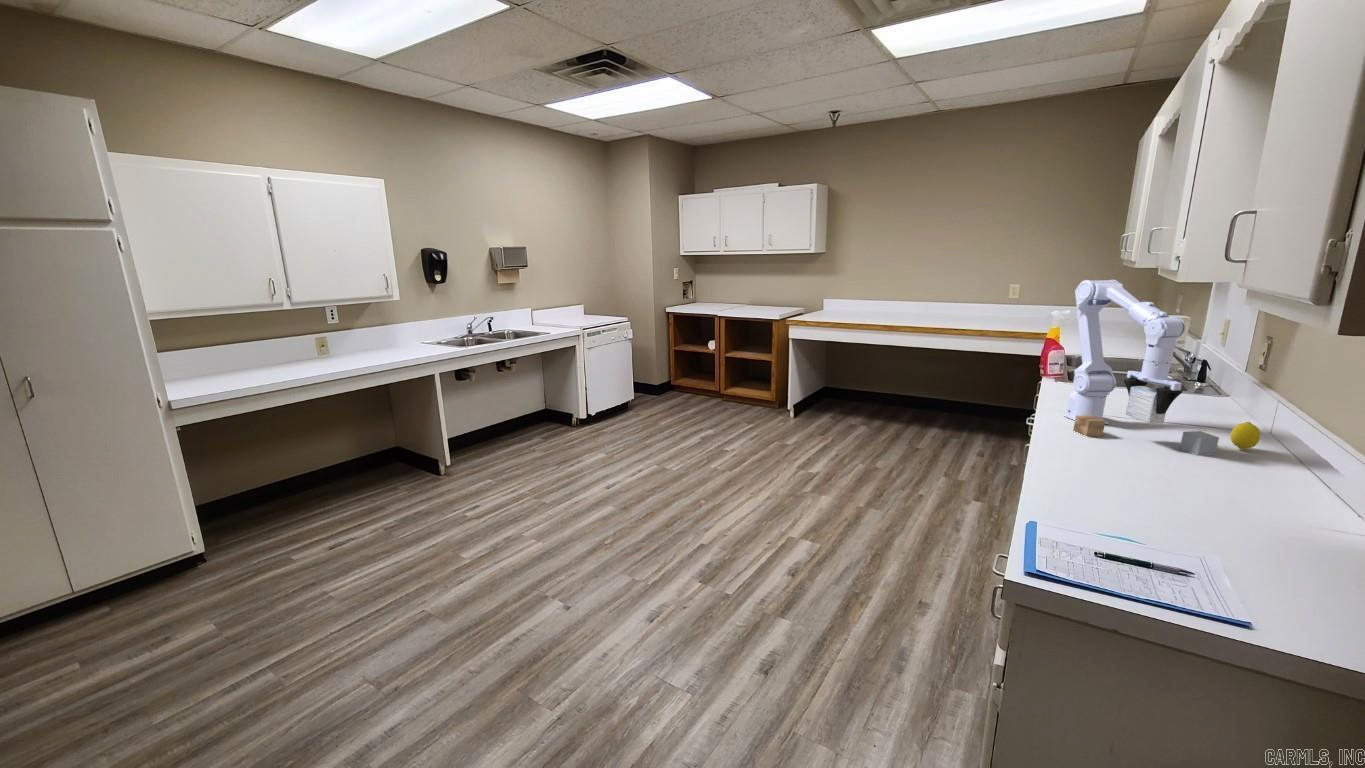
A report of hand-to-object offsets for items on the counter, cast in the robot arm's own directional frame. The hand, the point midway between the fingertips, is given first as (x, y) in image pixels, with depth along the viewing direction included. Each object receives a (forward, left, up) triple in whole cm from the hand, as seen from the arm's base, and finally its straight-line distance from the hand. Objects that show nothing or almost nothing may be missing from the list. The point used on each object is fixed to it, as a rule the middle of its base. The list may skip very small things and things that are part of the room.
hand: (1146, 408), depth 153 cm
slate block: (+8, +9, -10) cm, 16 cm away
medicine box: (0, 0, -3) cm, 3 cm away
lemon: (+8, +22, -10) cm, 25 cm away
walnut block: (-8, -9, -10) cm, 16 cm away
